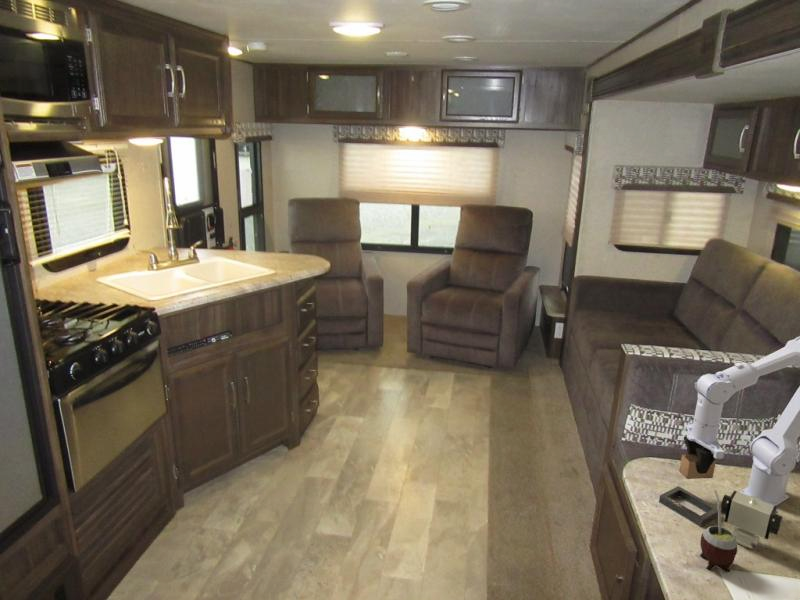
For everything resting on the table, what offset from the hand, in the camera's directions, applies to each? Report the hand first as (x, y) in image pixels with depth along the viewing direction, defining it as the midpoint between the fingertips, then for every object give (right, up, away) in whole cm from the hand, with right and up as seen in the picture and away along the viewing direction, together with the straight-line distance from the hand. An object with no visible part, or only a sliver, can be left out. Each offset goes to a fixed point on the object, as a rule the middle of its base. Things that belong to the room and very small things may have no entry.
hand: (697, 468), depth 148 cm
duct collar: (-4, -10, -3) cm, 11 cm away
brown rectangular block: (0, -2, +1) cm, 2 cm away
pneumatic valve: (+4, -13, -14) cm, 20 cm away
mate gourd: (-7, -15, -21) cm, 27 cm away
